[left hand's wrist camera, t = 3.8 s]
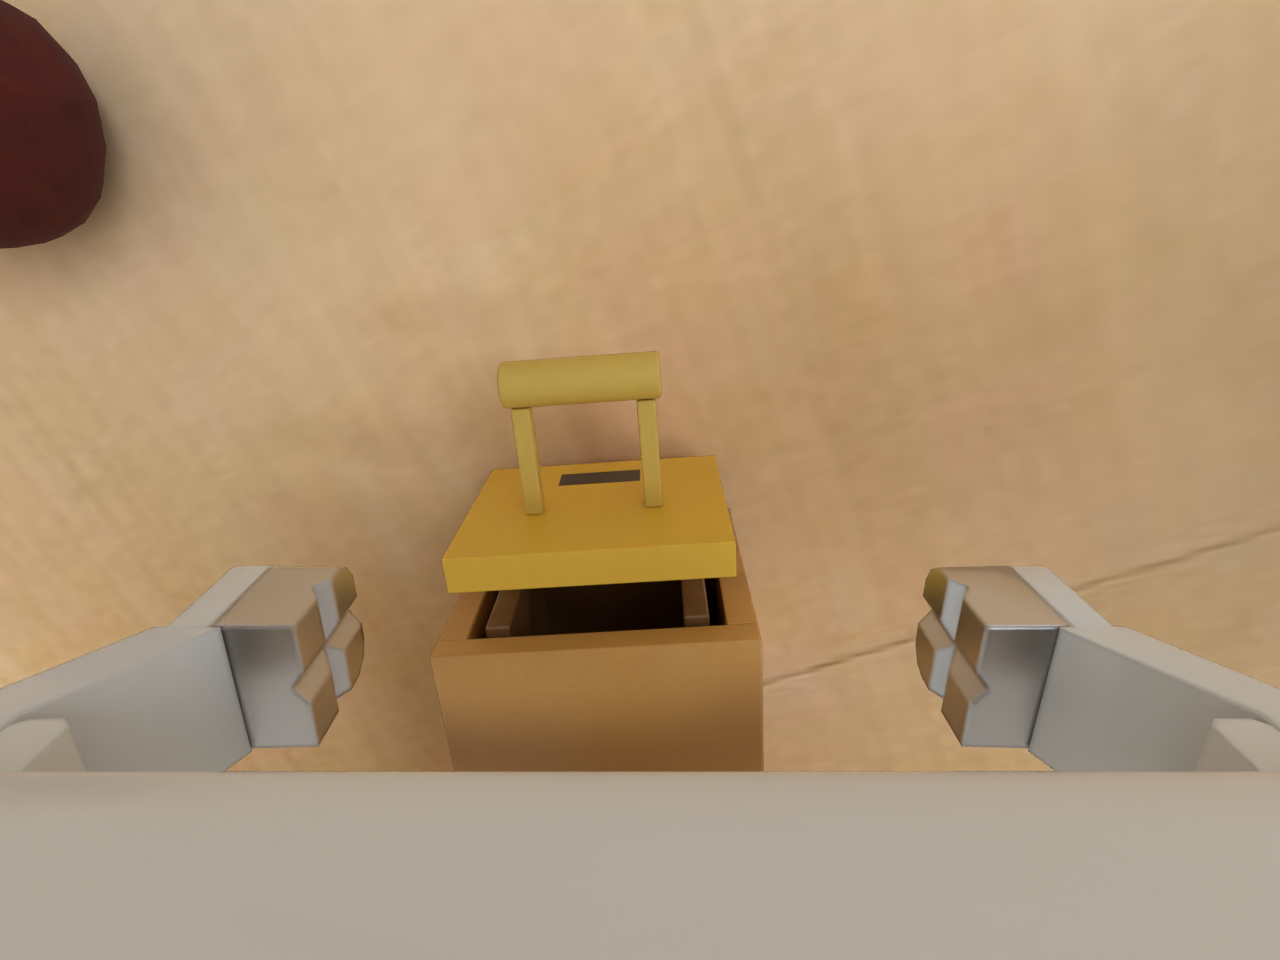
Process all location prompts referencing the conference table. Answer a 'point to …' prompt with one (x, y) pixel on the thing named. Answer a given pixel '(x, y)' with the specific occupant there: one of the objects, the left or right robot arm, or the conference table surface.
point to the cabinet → (605, 692)
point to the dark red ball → (44, 136)
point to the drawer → (592, 517)
